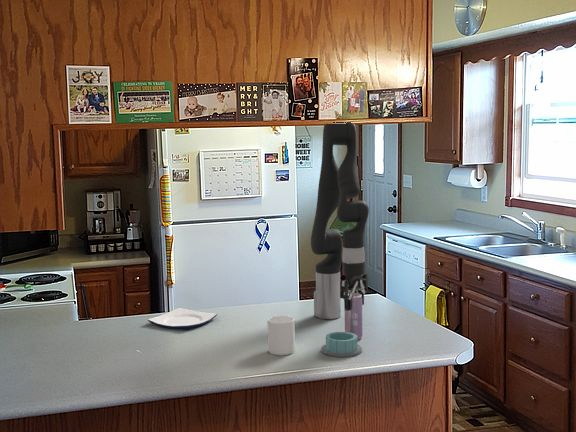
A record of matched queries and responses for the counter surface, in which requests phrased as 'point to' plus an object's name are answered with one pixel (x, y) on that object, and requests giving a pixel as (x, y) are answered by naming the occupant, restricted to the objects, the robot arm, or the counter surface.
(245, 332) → the counter surface
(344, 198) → the robot arm
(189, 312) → the plate
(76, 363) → the counter surface
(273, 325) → the mug
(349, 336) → the holder
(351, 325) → the beverage can
